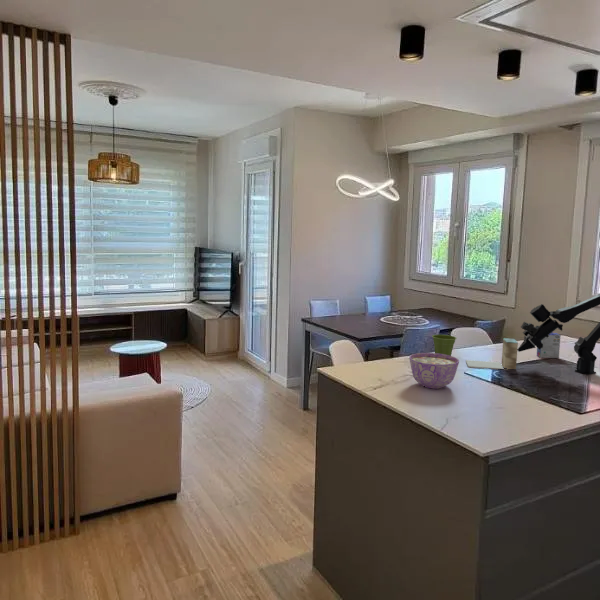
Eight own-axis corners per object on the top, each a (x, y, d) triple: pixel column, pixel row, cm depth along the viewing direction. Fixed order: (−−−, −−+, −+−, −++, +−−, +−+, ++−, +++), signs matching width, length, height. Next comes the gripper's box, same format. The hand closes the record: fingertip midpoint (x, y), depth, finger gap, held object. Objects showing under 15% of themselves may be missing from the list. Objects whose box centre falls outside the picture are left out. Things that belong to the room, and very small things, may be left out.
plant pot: (456, 362, 255) (457, 339, 253) (431, 360, 257) (432, 338, 256) (454, 356, 266) (455, 335, 265) (430, 355, 269) (431, 333, 267)
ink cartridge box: (554, 355, 272) (556, 328, 270) (559, 358, 267) (562, 330, 265) (535, 355, 273) (537, 328, 271) (540, 357, 267) (542, 330, 265)
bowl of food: (422, 394, 203) (424, 365, 202) (399, 380, 222) (400, 353, 221) (467, 391, 209) (469, 363, 207) (441, 377, 228) (442, 351, 226)
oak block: (512, 365, 251) (514, 338, 250) (515, 370, 243) (517, 342, 241) (501, 364, 252) (503, 338, 251) (504, 369, 244) (506, 342, 242)
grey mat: (500, 363, 254) (500, 362, 254) (504, 369, 242) (504, 368, 242) (465, 361, 257) (465, 360, 257) (468, 367, 246) (468, 366, 246)
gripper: (528, 313, 251) (502, 334, 255) (537, 319, 233) (509, 342, 237) (545, 330, 251) (518, 351, 254) (555, 338, 233) (526, 360, 236)
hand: (518, 350), depth 246 cm, fingers closed
